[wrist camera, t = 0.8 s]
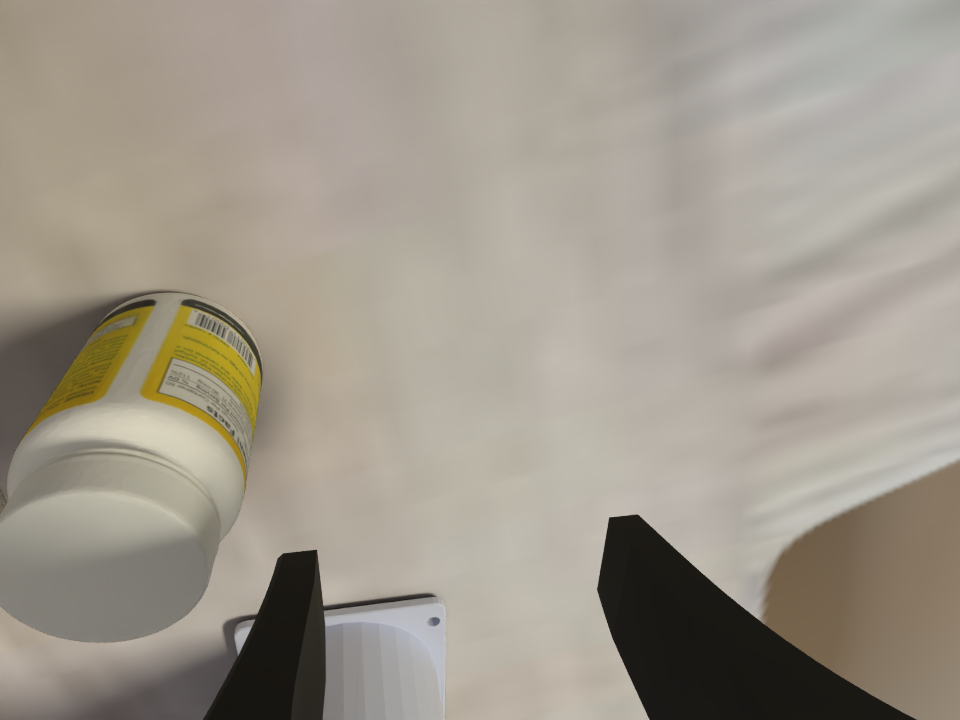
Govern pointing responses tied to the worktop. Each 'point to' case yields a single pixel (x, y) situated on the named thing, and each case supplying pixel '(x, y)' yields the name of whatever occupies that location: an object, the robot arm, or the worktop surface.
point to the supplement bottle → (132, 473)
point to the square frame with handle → (2, 502)
